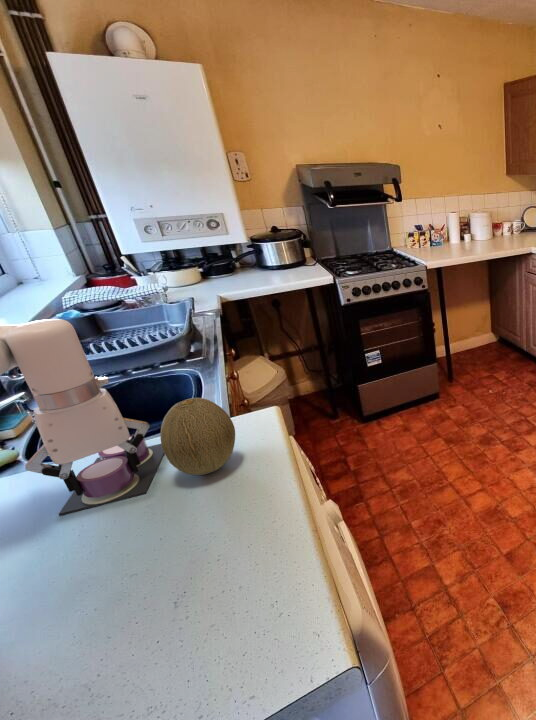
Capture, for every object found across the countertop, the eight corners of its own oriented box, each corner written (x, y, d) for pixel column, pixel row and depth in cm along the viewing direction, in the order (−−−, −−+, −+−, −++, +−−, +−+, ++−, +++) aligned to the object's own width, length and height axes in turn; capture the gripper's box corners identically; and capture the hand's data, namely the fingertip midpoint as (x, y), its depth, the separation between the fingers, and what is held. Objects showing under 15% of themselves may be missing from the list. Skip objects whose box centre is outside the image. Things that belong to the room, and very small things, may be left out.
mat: (59, 515, 74) (57, 513, 74) (97, 459, 88) (96, 457, 88) (146, 493, 78) (145, 491, 78) (169, 443, 93) (168, 441, 93)
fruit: (255, 450, 90) (236, 386, 84) (218, 488, 79) (194, 417, 74) (201, 450, 90) (179, 386, 85) (158, 487, 80) (130, 417, 74)
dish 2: (76, 502, 75) (68, 486, 73) (92, 478, 81) (85, 462, 79) (127, 490, 77) (120, 473, 76) (139, 467, 83) (133, 451, 82)
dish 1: (98, 475, 83) (91, 460, 81) (112, 455, 89) (105, 440, 87) (144, 465, 85) (138, 449, 84) (154, 445, 91) (148, 431, 90)
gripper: (130, 369, 80) (161, 449, 87) (-10, 407, 68) (38, 497, 75) (139, 381, 76) (171, 464, 82) (-10, 424, 64) (42, 518, 70)
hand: (107, 479), depth 79 cm, fingers closed on dish 2, 7 cm apart
